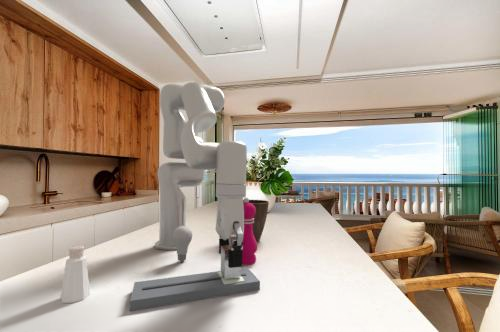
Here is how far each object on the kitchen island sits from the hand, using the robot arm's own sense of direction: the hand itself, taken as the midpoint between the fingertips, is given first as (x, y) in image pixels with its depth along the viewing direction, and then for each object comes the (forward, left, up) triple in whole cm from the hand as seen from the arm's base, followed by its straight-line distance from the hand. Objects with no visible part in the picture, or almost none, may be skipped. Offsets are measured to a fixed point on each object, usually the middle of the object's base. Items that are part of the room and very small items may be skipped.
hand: (229, 259), depth 62 cm
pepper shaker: (-5, -34, -6) cm, 35 cm away
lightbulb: (-20, -10, -6) cm, 23 cm away
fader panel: (0, -8, -6) cm, 10 cm away
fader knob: (0, 0, -4) cm, 4 cm away
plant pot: (-37, +19, -6) cm, 42 cm away
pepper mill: (-14, +9, -6) cm, 18 cm away
